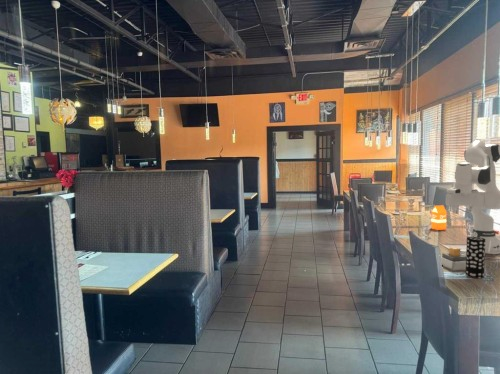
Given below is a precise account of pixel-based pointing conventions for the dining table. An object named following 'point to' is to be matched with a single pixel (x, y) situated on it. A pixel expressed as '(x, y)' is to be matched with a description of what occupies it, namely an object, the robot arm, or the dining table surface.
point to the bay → (453, 265)
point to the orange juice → (438, 218)
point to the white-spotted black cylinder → (475, 257)
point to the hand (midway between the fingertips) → (462, 213)
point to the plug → (454, 251)
